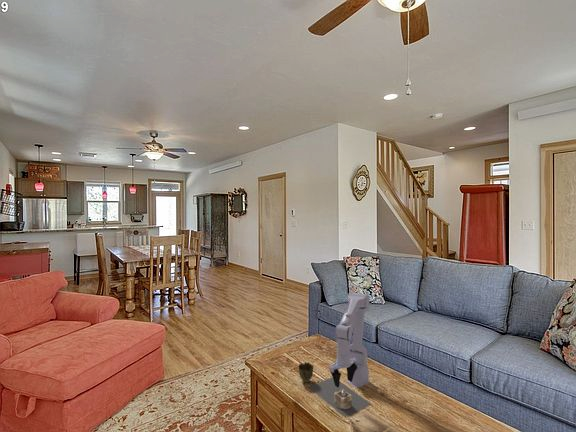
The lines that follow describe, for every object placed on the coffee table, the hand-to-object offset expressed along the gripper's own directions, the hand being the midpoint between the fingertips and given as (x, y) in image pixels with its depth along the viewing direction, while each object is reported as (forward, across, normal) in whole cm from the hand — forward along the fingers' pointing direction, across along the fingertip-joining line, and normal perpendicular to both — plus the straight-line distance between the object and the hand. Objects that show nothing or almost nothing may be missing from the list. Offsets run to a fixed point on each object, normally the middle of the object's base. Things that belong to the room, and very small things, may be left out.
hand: (343, 383), depth 132 cm
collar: (+9, 0, 0) cm, 9 cm away
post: (+10, 0, 0) cm, 10 cm away
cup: (+10, +3, -24) cm, 26 cm away
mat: (+10, -3, -6) cm, 12 cm away
